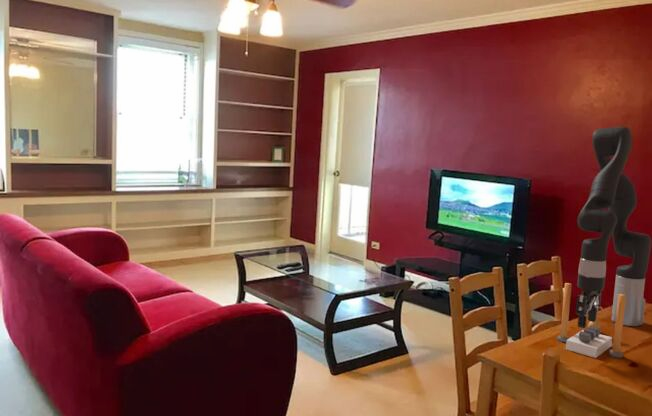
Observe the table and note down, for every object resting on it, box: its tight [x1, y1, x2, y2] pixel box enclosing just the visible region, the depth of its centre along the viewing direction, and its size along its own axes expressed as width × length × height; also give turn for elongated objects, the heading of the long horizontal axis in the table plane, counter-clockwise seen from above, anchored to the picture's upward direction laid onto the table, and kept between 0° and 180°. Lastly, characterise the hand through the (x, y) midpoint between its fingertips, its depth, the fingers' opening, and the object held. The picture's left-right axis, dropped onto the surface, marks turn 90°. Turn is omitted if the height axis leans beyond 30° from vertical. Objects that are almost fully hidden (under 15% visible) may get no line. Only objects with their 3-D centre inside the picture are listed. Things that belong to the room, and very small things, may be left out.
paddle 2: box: [587, 325, 601, 337], centre depth 176 cm, size 2×3×2 cm, turn 45°
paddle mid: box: [583, 327, 596, 340], centre depth 173 cm, size 2×3×2 cm, turn 45°
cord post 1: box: [557, 282, 572, 344], centre depth 178 cm, size 4×4×19 cm
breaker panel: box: [565, 329, 613, 359], centre depth 174 cm, size 14×9×3 cm, turn 135°
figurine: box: [587, 306, 608, 329], centre depth 187 cm, size 8×6×12 cm
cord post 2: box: [608, 294, 626, 359], centre depth 167 cm, size 4×4×19 cm
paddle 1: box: [578, 330, 591, 343], centre depth 170 cm, size 2×3×2 cm, turn 45°
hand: (586, 324), depth 170 cm, fingers open, 8 cm apart
